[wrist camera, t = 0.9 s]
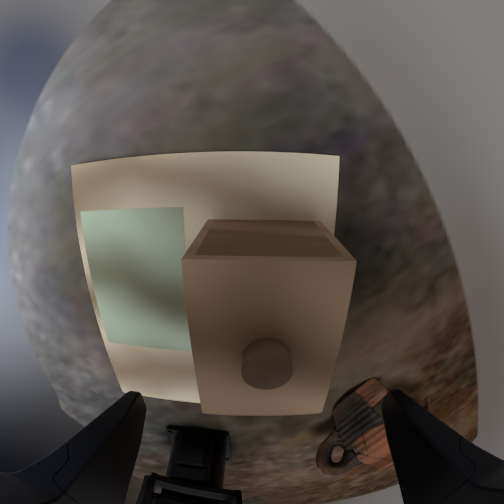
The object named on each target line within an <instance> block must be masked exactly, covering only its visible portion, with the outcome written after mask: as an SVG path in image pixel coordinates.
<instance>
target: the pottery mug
mask: <svg viewBox="0 0 504 504" xmlns="http://www.w3.org/2000/svg"><path fill="white" fill-rule="evenodd" d="M387 392H388V391H387V389H386V388H385V387H384V386H382V385H381V384H380V383H379V381H377V380H376V378H371V379H370V380H368V381H367V382H365V383H364V384H363V385H361V386H360V387H359V388H358V389H356V390H355V391H354V392H352V393H351V394H350V395H349V396H348V397H346V398H344V399H343V400H342V401H341V402H340V403H339V404H338V405H337V406H336V407H335V408H334V410H333V411H332V413H333V416H334V421H335V426H333V428H332V431H331V433H330V434H329V436H328V437H327V438H326V439H325V440H324V441H323V442H322V443H321V445H320V446H319V449H318V451H317V455H316V462H317V467H319V468H320V469H321V470H322V472H323V473H325V474H328V475H339V474H342V473H345V472H347V471H348V470H350V469H351V468H353V467H355V466H357V465H359V464H363V463H364V464H371V465H372V467H373V468H374V470H375V471H379V470H381V469H383V468H386V467H387V466H389V465H391V464H392V463H393V459H392V456H391V452H390V449H389V445H388V442H387V437H386V431H385V426H384V420H383V418H382V417H381V416H379V415H378V414H377V413H376V412H375V411H374V409H373V407H374V406H375V405H376V403H377V402H379V401H380V400H381V399H382V398H383V397H384V396H386V394H387ZM425 403H426V405H425V407H424V408H425V409H426V410H428V411H429V412H430V410H431V409H430V402H429V398H426V399H425ZM335 446H340V447H342V448H343V449H344V453H343V457H342V459H341V461H340V462H338V463H334V462H332V460H331V455H332V451H333V449H334V447H335ZM353 448H355V450H357V451H359V452H358V453H357V454H356V453H355V452H354V450H353Z"/></svg>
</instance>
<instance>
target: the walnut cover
mask: <svg viewBox="0 0 504 504" xmlns="http://www.w3.org/2000/svg"><path fill="white" fill-rule="evenodd" d="M181 263H182V274H183V284H184V294H185V303H186V312H187V320H188V328H189V335H190V342H191V349H192V356H193V362H194V369H195V375H196V381H197V387H198V392H199V398H200V403H201V408H202V413H204V414H218V415H240V416H279V415H301V414H315V413H322V410H323V407H324V404H325V400H326V397H327V394H328V390H329V387H330V383H331V380H332V376H333V373H334V369H335V365H336V361H337V357H338V353H339V349H340V345H341V341H342V337H343V332H344V328H345V323H346V318H347V314H348V309H349V304H350V298H351V293H352V288H353V282H354V276H355V270H356V263H357V261H356V260H355V259H354V258H353V256H352V255H351V254H350V253H349V252H348V251H347V250H346V249H345V248H344V246H343V245H342V244H341V243H340V242H339V241H338V240H337V239H336V238H335V237H334V235H333V234H332V233H331V232H330V231H329V230H328V229H327V228H326V227H325V226H324V225H323V224H322V223H321V222H320V221H295V220H239V219H208V220H207V221H206V223H205V224H204V226H203V227H202V229H201V230H200V232H199V233H198V235H197V236H196V238H195V239H194V241H193V242H192V244H191V245H190V247H189V248H188V250H187V251H186V253H185V254H184V256H183V257H182V259H181Z"/></svg>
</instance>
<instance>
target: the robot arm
mask: <svg viewBox="0 0 504 504" xmlns="http://www.w3.org/2000/svg"><path fill="white" fill-rule="evenodd" d="M381 409H382V415H383V420H384V426H385V431H386V437H387V442H388V445H389V449H390V452H391V456H392V459H393V463H394V467H395V470H396V474H397V478H398V482H399V485H400V489H401V493H402V498H403V502H404V504H504V460H501V459H499V458H498V457H496V456H494V455H492V454H490V453H488V452H487V451H485V450H483V449H481V448H480V447H478V446H476V445H474V444H473V443H472V442H470V441H469V440H467V439H466V438H464V437H463V436H462V435H460V434H459V433H457V432H456V431H455V430H453V429H452V428H451V427H449V426H448V425H446V424H445V423H444V422H442V421H441V420H440V419H438V418H437V417H436V416H434V415H433V414H432V413H430V412H429V411H428V410H426V409H425V408H424V407H422V406H421V405H420V404H418V403H417V402H416V401H414V400H413V399H412V398H410V397H409V396H408V395H406V394H405V393H404V392H402V391H401V390H400V389H393V390H389V391H388V392H387V394H386V396H385V398H384V400H383V402H382V405H381ZM145 415H146V405H145V402H144V399H143V397H142V394H141V393H140V392H137V391H129V392H127V393H126V394H125V395H124V396H122V397H121V398H120V399H119V400H118V401H116V402H115V403H114V404H113V405H111V406H110V407H109V408H108V409H107V410H105V411H104V412H103V413H102V414H100V415H99V416H98V417H97V418H96V419H94V420H93V421H92V422H91V423H89V424H88V425H87V426H86V427H84V428H83V429H82V430H81V431H79V432H78V433H77V434H76V435H74V436H73V437H72V438H70V439H69V440H68V442H66V443H64V444H63V445H61V446H60V447H59V448H57V449H56V450H55V451H53V452H52V453H50V454H49V455H47V456H46V457H44V458H42V459H41V460H39V461H37V462H35V463H34V464H32V465H30V466H28V467H27V468H25V469H23V470H21V471H18V472H14V473H0V504H124V503H125V499H126V495H127V491H128V487H129V483H130V479H131V476H132V473H133V469H134V466H135V462H136V458H137V455H138V452H139V448H140V444H141V439H142V433H143V427H144V421H145ZM166 433H167V435H168V438H169V440H170V442H171V445H172V451H171V456H170V460H169V464H168V469H167V473H166V477H164V476H161V475H157V473H153V472H152V474H151V475H150V476H144V480H143V484H142V487H141V491H140V493H139V496H138V499H137V502H136V504H242V495H241V490H227V489H223V482H224V469H225V461H229V460H231V450H230V441H229V434H228V433H227V432H224V431H209V430H198V429H189V428H180V427H173V426H167V427H166ZM155 491H158V492H161V494H158V493H155Z"/></svg>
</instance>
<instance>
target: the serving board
mask: <svg viewBox="0 0 504 504" xmlns="http://www.w3.org/2000/svg"><path fill="white" fill-rule="evenodd" d="M339 158H340V156H333V155H321V154H307V153H288V152H254V151H226V152H192V153H174V154H160V155H148V156H137V157H128V158H119V159H111V160H104V161H97V162H90V163H84V164H78V165H72V166H71V171H72V186H73V198H74V208H75V216H76V224H77V231H78V237H79V244H80V249H81V255H82V260H83V265H84V270H85V275H86V279H87V284H88V288H89V292H90V296H91V300H92V304H93V307H94V311H95V315H96V318H97V321H98V325H99V328H100V331H101V334H102V338H103V341H104V344H105V347H106V349H107V352H108V355H109V358H110V361H111V363H112V366H113V369H114V371H115V374H116V376H117V379H118V381H119V384H120V386H121V389H122V391H123V392H125V393H127V392H129V391H137V392H140V393H141V394H142V396H147V397H153V398H160V399H167V400H175V401H184V402H194V403H200V398H199V392H198V387H197V381H196V375H195V369H194V362H193V356H192V349H191V342H190V335H189V328H188V320H187V312H186V303H185V294H184V284H183V274H182V263H181V259H182V257H183V256H184V254H185V253H186V251H187V250H188V248H189V247H190V245H191V244H192V242H193V241H194V239H195V238H196V236H197V235H198V233H199V232H200V230H201V229H202V227H203V226H204V224H205V223H206V221H207V220H208V219H239V220H295V221H320V222H321V223H322V224H323V225H324V226H325V227H326V228H327V229H328V230H329V231H330V232H331V233H332V234H333V235H334V232H335V221H336V209H337V195H338V179H339Z"/></svg>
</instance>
